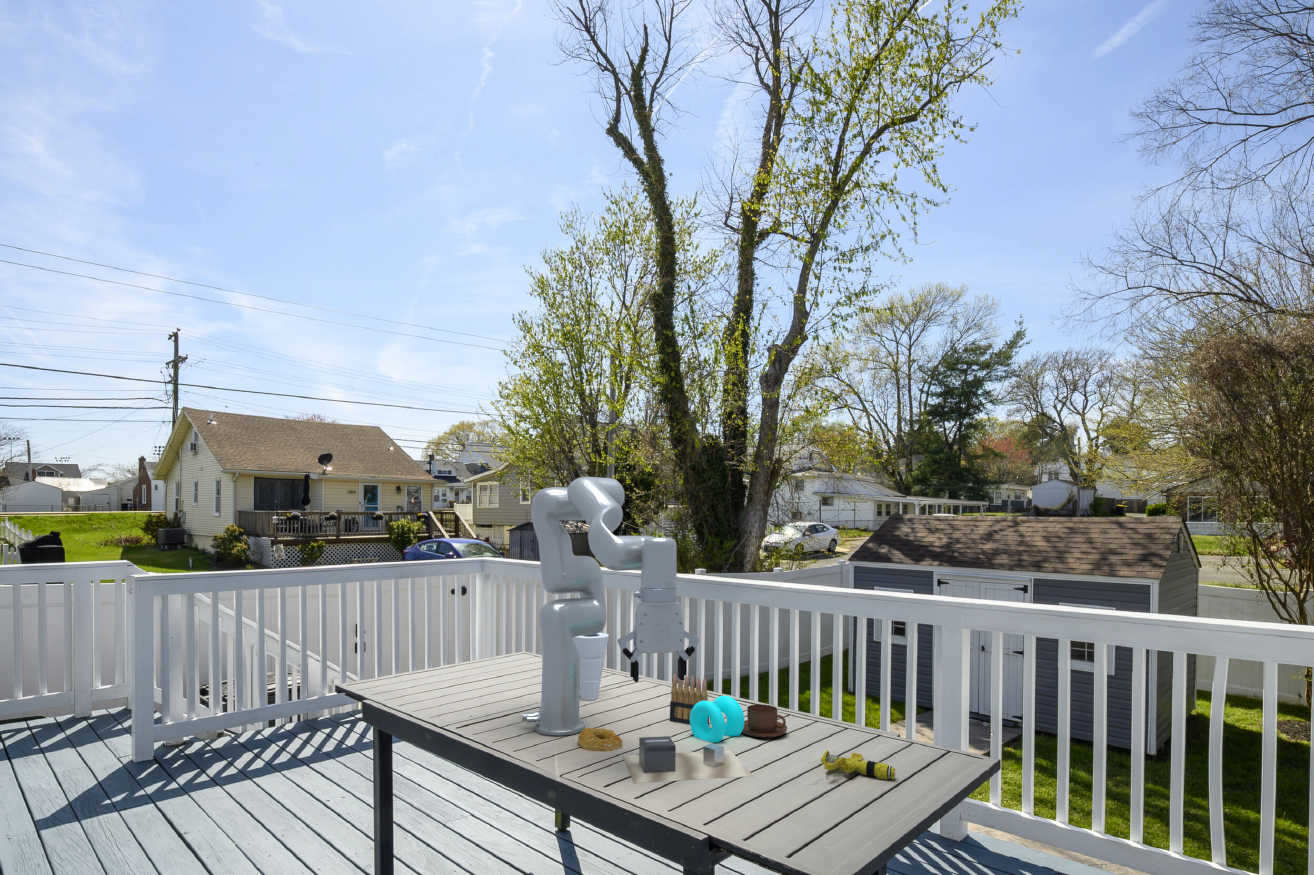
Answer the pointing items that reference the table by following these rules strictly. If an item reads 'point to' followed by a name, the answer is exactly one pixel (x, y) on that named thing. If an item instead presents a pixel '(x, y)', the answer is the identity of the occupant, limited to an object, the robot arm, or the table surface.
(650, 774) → the beige wavy cloth
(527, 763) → the table surface
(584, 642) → the cup
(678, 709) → the ammunition clip
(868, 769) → the sprinkler
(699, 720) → the donuts
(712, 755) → the silver metal cube
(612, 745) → the bagel
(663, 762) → the dark grey box
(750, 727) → the cup and saucer
